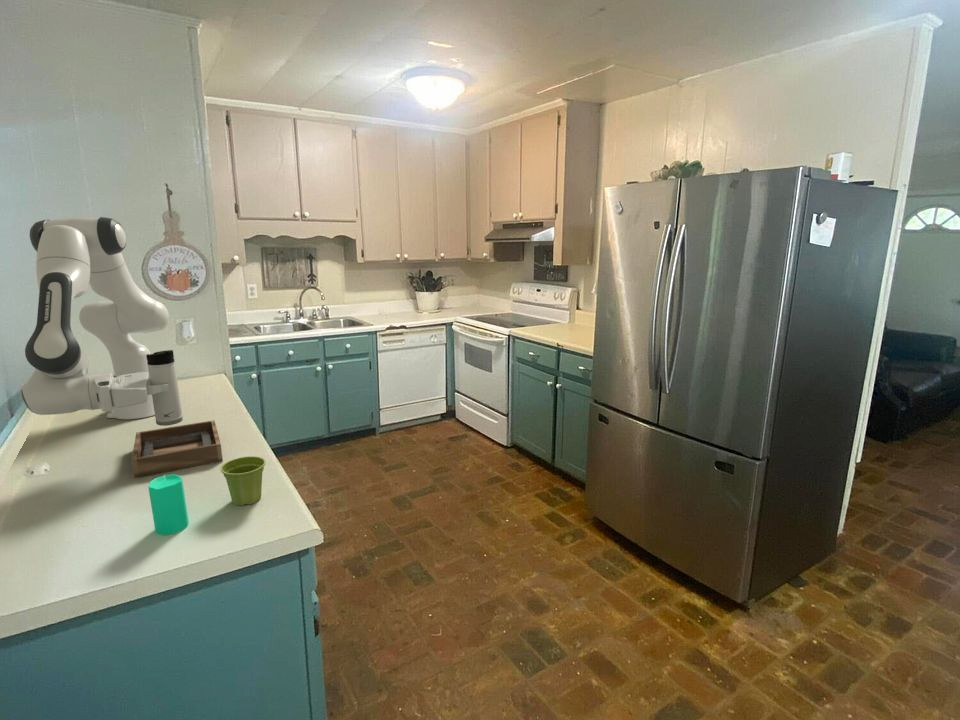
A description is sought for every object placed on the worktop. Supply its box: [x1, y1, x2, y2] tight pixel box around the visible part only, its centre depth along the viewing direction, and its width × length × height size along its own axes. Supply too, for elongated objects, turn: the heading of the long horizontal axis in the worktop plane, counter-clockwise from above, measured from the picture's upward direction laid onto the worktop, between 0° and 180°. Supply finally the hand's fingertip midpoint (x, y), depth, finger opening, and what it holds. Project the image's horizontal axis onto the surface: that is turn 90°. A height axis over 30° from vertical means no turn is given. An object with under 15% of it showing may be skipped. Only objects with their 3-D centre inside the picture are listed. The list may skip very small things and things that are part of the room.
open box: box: [131, 419, 224, 479], centre depth 143 cm, size 22×20×5 cm
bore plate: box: [143, 431, 212, 457], centre depth 143 cm, size 16×16×2 cm
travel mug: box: [146, 349, 184, 427], centre depth 139 cm, size 6×7×20 cm
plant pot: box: [220, 455, 267, 506], centre depth 118 cm, size 9×9×9 cm
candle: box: [147, 473, 190, 536], centre depth 106 cm, size 6×6×12 cm
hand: (168, 383), depth 139 cm, fingers closed on travel mug, 6 cm apart
